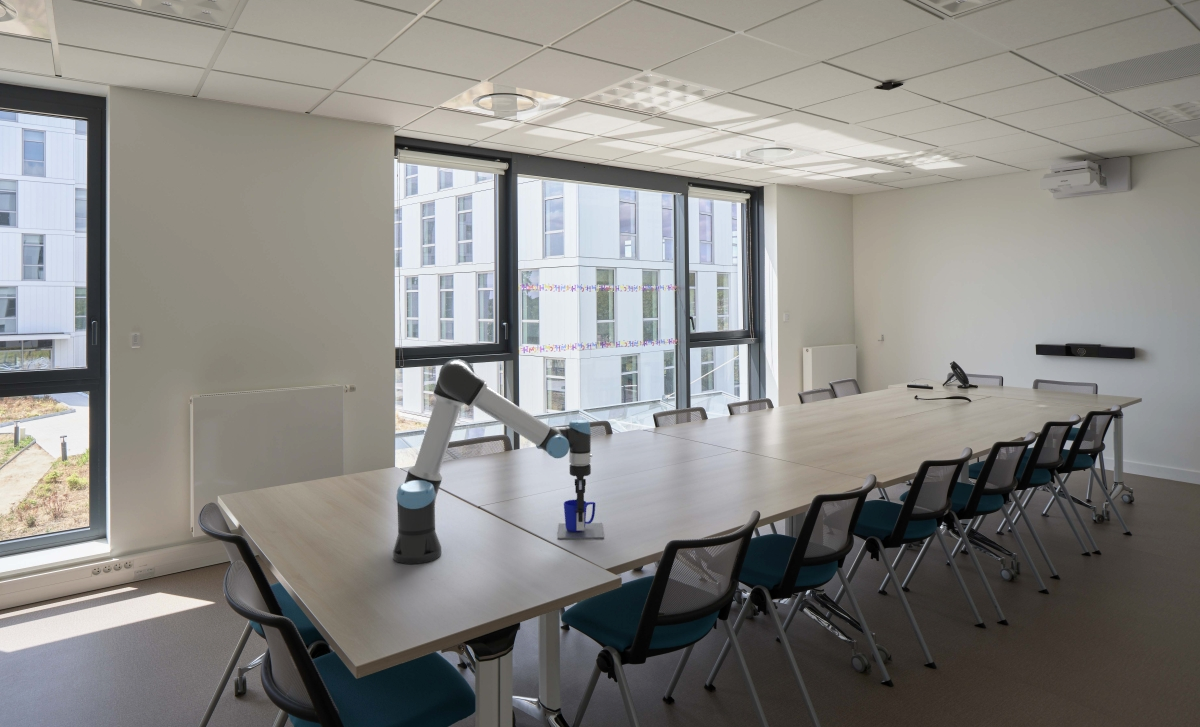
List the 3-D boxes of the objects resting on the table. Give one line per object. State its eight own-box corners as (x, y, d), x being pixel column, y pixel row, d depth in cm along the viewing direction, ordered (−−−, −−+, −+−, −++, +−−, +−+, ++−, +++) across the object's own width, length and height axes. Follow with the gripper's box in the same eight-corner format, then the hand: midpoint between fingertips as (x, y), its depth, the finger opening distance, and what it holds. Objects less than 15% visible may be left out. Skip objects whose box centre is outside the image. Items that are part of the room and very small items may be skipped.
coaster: (557, 539, 242) (557, 537, 242) (558, 525, 258) (558, 523, 258) (603, 538, 243) (603, 537, 243) (601, 524, 259) (601, 522, 259)
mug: (600, 529, 251) (600, 502, 250) (570, 535, 245) (570, 507, 244) (589, 523, 258) (589, 496, 257) (560, 528, 252) (559, 501, 251)
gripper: (591, 470, 238) (591, 535, 240) (590, 457, 259) (590, 517, 261) (569, 470, 238) (569, 535, 240) (569, 457, 259) (570, 517, 261)
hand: (580, 526), depth 250 cm, fingers open, 8 cm apart
